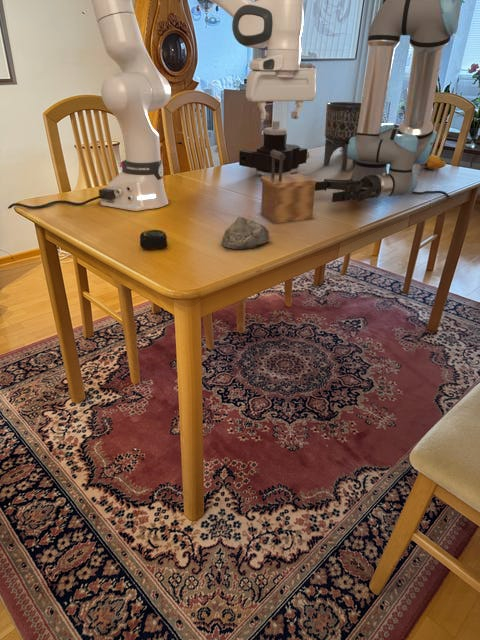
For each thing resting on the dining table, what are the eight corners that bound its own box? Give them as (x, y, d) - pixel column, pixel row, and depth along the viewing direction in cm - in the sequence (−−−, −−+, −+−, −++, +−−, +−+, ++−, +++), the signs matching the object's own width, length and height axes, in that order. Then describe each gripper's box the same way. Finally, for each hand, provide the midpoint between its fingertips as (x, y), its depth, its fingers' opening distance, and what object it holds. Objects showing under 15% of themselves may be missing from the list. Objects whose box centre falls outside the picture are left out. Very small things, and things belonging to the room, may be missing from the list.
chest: (274, 223, 138) (276, 188, 132) (261, 214, 145) (262, 180, 140) (312, 218, 142) (315, 184, 137) (297, 210, 150) (299, 177, 144)
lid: (274, 188, 132) (275, 155, 127) (260, 180, 139) (261, 149, 135) (315, 184, 137) (318, 152, 132) (299, 177, 144) (302, 146, 140)
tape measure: (140, 252, 115) (139, 238, 113) (141, 242, 120) (140, 229, 119) (167, 251, 116) (166, 237, 114) (167, 241, 121) (166, 228, 120)
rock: (255, 233, 128) (256, 211, 124) (276, 242, 122) (278, 219, 119) (217, 244, 120) (217, 220, 117) (239, 254, 115) (239, 230, 111)
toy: (420, 162, 205) (414, 155, 217) (422, 176, 207) (416, 168, 220) (446, 154, 201) (438, 147, 214) (448, 168, 204) (440, 161, 217)
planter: (313, 167, 208) (319, 103, 195) (331, 160, 222) (338, 101, 209) (353, 173, 199) (362, 107, 185) (369, 166, 213) (379, 104, 199)
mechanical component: (240, 120, 182) (283, 115, 202) (239, 174, 192) (280, 164, 212) (283, 126, 170) (325, 120, 190) (280, 183, 180) (320, 171, 200)
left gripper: (310, 63, 127) (306, 116, 134) (244, 61, 120) (242, 118, 127) (322, 63, 122) (317, 119, 129) (253, 62, 115) (252, 121, 122)
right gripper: (354, 167, 159) (302, 171, 152) (402, 183, 140) (345, 189, 132) (351, 188, 163) (300, 194, 155) (398, 207, 143) (342, 214, 136)
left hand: (279, 119), depth 128 cm, fingers open, 8 cm apart
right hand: (320, 192), depth 144 cm, fingers open, 13 cm apart
